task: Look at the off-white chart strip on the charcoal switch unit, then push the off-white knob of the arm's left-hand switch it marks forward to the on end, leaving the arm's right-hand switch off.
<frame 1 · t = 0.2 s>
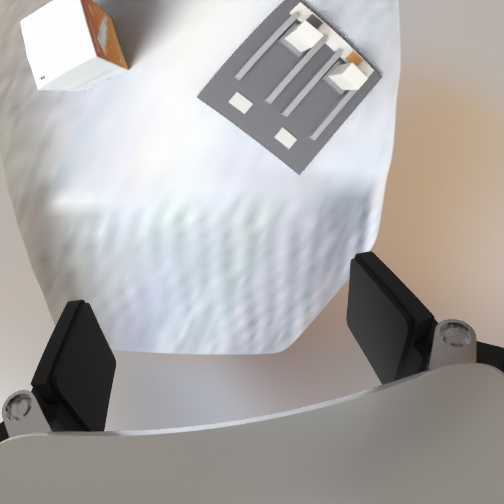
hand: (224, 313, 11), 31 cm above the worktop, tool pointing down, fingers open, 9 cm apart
small box: (98, 53, 30), on the worktop
switch unit: (294, 81, 35), on the worktop
switch 1: (345, 77, 32), point 4 cm above the worktop, slide at 0.0 cm
switch 2: (302, 37, 29), point 4 cm above the worktop, slide at 0.0 cm
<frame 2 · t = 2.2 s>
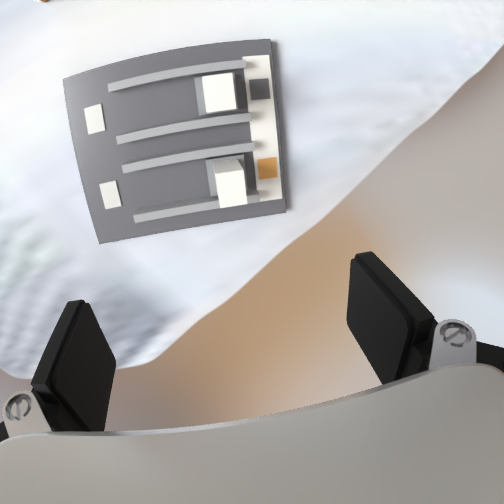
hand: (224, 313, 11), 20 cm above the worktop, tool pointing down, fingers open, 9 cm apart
switch unit: (174, 140, 26), on the worktop
switch 1: (228, 180, 25), point 4 cm above the worktop, slide at 0.0 cm
switch 2: (217, 93, 22), point 4 cm above the worktop, slide at 0.0 cm
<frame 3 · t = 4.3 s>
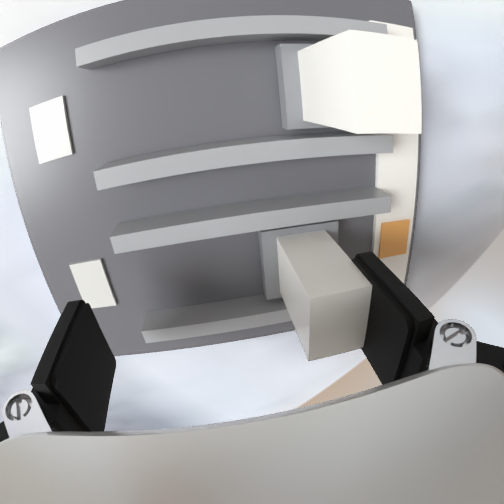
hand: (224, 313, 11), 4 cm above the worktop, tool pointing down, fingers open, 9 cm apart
switch unit: (222, 176, 13), on the worktop
switch 1: (314, 283, 12), point 4 cm above the worktop, slide at 1.3 cm, touching gripper
switch 2: (347, 84, 9), point 4 cm above the worktop, slide at 0.0 cm
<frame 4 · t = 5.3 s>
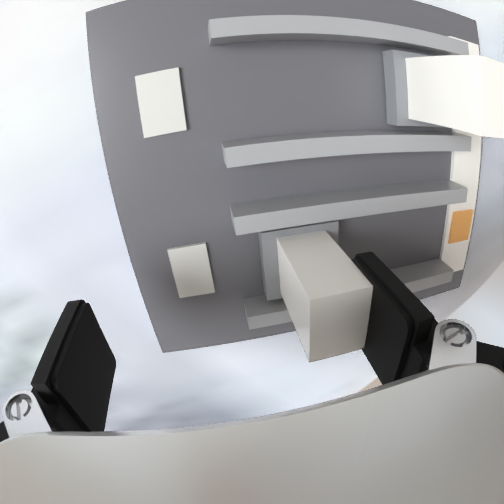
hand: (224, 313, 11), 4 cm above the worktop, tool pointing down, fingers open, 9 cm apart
switch unit: (327, 164, 13), on the worktop
switch 1: (315, 284, 12), point 4 cm above the worktop, slide at 5.9 cm, touching gripper
switch 2: (452, 92, 9), point 4 cm above the worktop, slide at 0.0 cm
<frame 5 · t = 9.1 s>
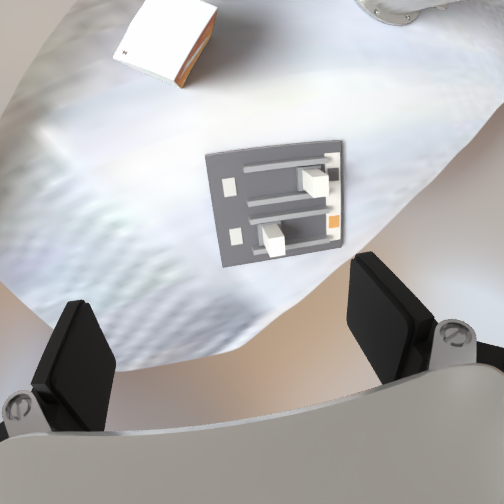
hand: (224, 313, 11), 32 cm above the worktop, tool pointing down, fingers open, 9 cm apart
small box: (175, 52, 33), on the worktop
switch unit: (279, 202, 44), on the worktop
switch 1: (272, 238, 42), point 4 cm above the worktop, slide at 5.9 cm
switch 2: (314, 181, 39), point 4 cm above the worktop, slide at 0.0 cm
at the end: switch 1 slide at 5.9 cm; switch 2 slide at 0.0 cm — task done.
